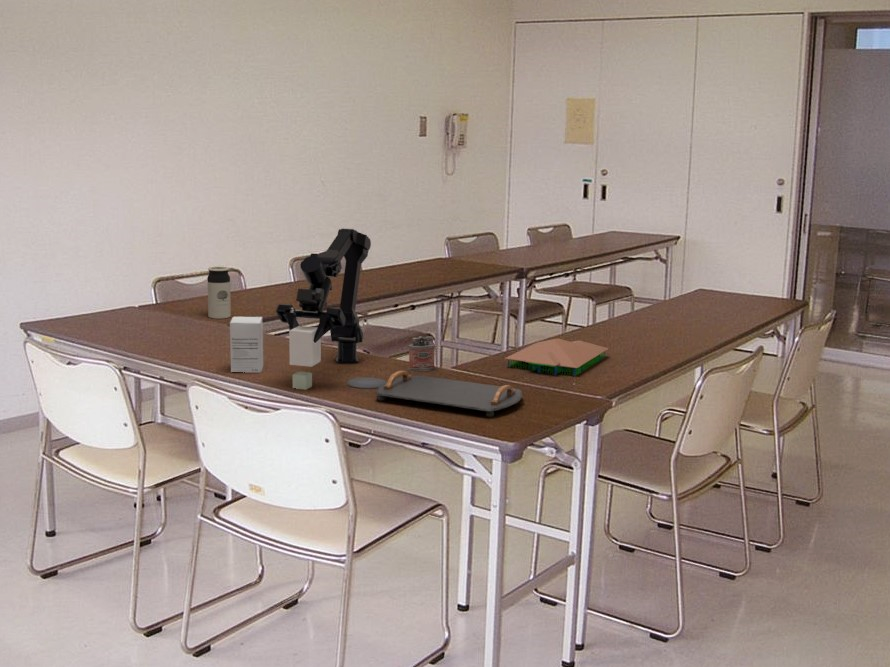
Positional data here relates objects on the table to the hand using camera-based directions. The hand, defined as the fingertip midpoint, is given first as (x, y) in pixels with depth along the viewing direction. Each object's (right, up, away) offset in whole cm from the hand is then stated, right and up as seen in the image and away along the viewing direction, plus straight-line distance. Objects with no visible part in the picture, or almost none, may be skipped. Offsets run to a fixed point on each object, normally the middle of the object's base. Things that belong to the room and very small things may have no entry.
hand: (302, 340), depth 287 cm
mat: (+17, -12, +10) cm, 23 cm away
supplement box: (-19, -9, +23) cm, 31 cm away
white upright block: (0, -6, +3) cm, 7 cm away
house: (+73, -8, +39) cm, 83 cm away
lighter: (+32, -9, +27) cm, 43 cm away
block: (-1, -13, +4) cm, 14 cm away
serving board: (+40, -16, -5) cm, 43 cm away
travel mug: (-44, +8, +98) cm, 108 cm away
